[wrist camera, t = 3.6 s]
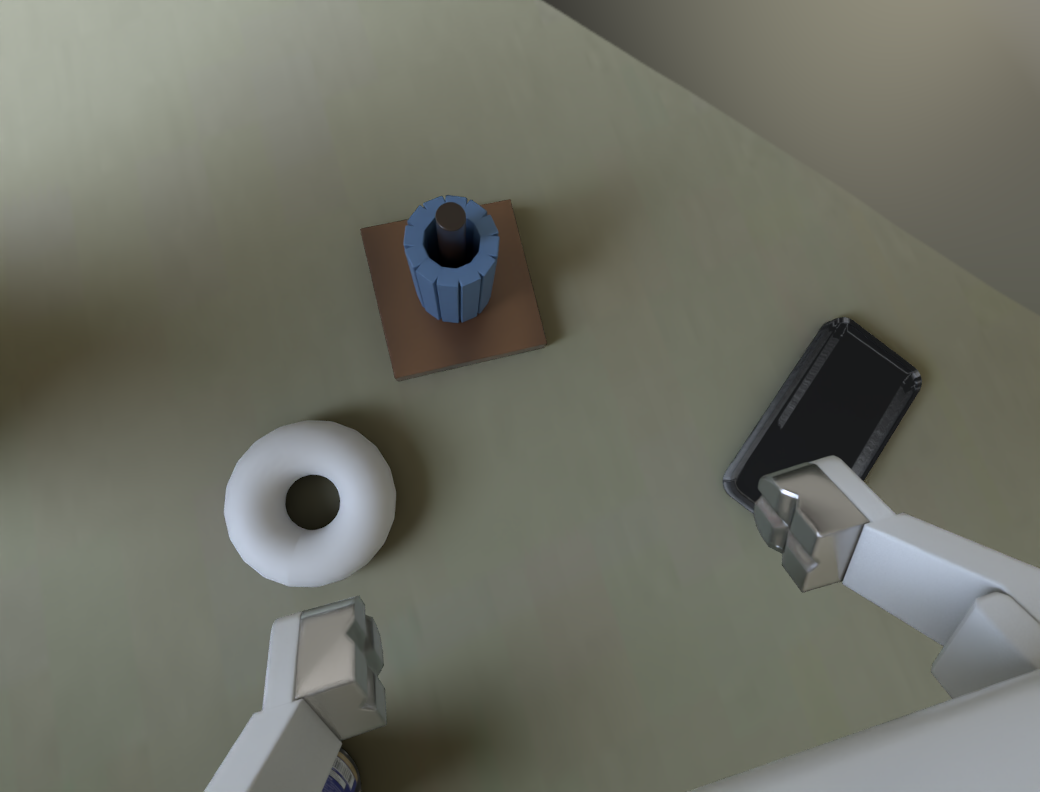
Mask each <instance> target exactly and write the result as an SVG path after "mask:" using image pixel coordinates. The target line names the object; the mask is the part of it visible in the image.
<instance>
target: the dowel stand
mask: <svg viewBox="0 0 1040 792" xmlns="http://www.w3.org/2000/svg"><path fill="white" fill-rule="evenodd" d="M480 206H481V207H482V208H484V209H485V210H487V215H491V217H492V219H493V221H494V223H495V225H496V227H497V229H498V232H499V234H498V236H499V237H500V240H499V251H498V259H497V264H496V270H495V275H494V281H493V286H492V292H491V297H490V298H489V302H488V304H487V305H486V306H485V308H484V309H483V310H482V312H481V313H480V314H479V313H477V317H474V318H472V319H470V320H467V321H465V322H461V320H460V319H459V323H452V322H443V321H442V317H441V319H440V320H438V319H437V318H435V317H434V316H432V315H431V314H429V313H428V312H427V311H426V310H425V308H424V307H423V306H422V304H421V302H420V300H419V298H418V295H417V293H416V289H415V286H414V282H413V279H412V275H411V272H410V268H409V265H408V261H407V258H406V254H405V248H404V235H405V227H406V225H408V223H407V221H408V219H407V220H402V221H397V222H392V223H387V224H382V225H377V226H371V227H366V228H361V229H360V231H361V235H362V239H363V243H364V248H365V252H366V256H367V261H368V265H369V269H370V273H371V278H372V282H373V286H374V291H375V295H376V299H377V303H378V308H379V312H380V316H381V321H382V325H383V329H384V334H385V338H386V342H387V346H388V351H389V355H390V359H391V364H392V368H393V372H394V376H395V379H396V380H397V381H402V380H406V379H410V378H415V377H419V376H423V375H428V374H432V373H436V372H441V371H445V370H449V369H454V368H458V367H462V366H467V365H471V364H475V363H480V362H484V361H488V360H493V359H497V358H501V357H506V356H510V355H515V354H519V353H523V352H528V351H532V350H536V349H541V348H544V347H545V345H546V344H547V341H546V337H545V333H544V329H543V325H542V322H541V318H540V314H539V310H538V306H537V302H536V298H535V294H534V290H533V286H532V282H531V278H530V274H529V270H528V267H527V263H526V259H525V255H524V251H523V247H522V243H521V239H520V235H519V231H518V227H517V223H516V219H515V216H514V212H513V208H512V204H511V200H510V199H509V200H504V201H499V202H494V203H489V204H484V205H480ZM435 219H436V227H437V236H438V245H439V254H440V262H441V266H442V267H448V268H459V267H461V266H464V265H465V261H466V213H465V211H464V209H463V208H462V207H461V206H460V205H459V204H457V203H454V202H447V203H444V204H442V205H441V206H439V208H438V209H437V211H436V214H435Z"/></svg>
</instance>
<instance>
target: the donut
mask: <svg viewBox="0 0 1040 792" xmlns="http://www.w3.org/2000/svg"><path fill="white" fill-rule="evenodd" d="M307 475H321V476H323V477H326V478H328V479H329V480H330V481H332V482H333V483H334V485H335V486H336V488H337V490H338V492H339V496H340V509H339V511H338V514H337V516H336V517H335V518H334V520H333V521H332V522H331V523H330V524H328V525H327V526H325V527H324V528H320V529H317V530H306V529H304V528H301V527H299V526H297V525H296V524H295V523H294V522H292V520H291V519H290V517H289V516H288V514H287V510H286V506H285V502H286V495H287V492H288V490H289V488H290V486H291V485H292V484H293V483H294V482H295V481H296V480H298V479H299V478H301V477H303V476H307ZM395 504H396V489H395V485H394V481H393V477H392V473H391V469H390V467H389V465H388V464H387V462H386V461H385V459H384V458H383V456H382V454H381V453H380V451H379V450H378V448H377V447H376V446H375V445H374V444H373V443H371V442H370V441H369V440H368V439H367V438H365V437H364V436H363V435H362V434H360V433H359V432H358V431H356V430H354V429H351V428H349V427H346V426H343V425H341V424H338V423H336V422H333V421H316V420H305V421H301V422H297V423H293V424H289V425H285V426H281V427H278V428H277V429H275V430H273V431H272V432H270V433H268V434H267V435H265V436H264V437H262V438H260V439H259V440H257V441H255V442H254V444H253V445H252V446H251V447H250V448H249V449H248V450H247V452H246V453H245V454H244V455H243V456H242V457H241V458H240V459H239V461H238V462H237V464H236V466H235V468H234V471H233V473H232V475H231V477H230V480H229V482H228V484H227V487H226V497H225V506H224V516H225V520H226V524H227V529H228V533H229V538H230V540H231V541H232V543H233V545H234V546H235V548H236V549H237V551H238V553H239V554H240V556H241V557H242V559H243V561H245V562H246V563H247V564H248V565H250V566H251V567H252V568H253V569H255V570H256V571H257V572H258V573H259V574H261V575H262V576H263V577H265V578H267V579H270V580H273V581H276V582H279V583H281V584H284V585H287V586H292V587H319V586H322V585H326V584H329V583H333V582H336V581H340V580H343V579H346V578H347V577H349V576H350V575H352V574H353V573H355V572H356V571H358V570H359V569H361V568H362V567H364V566H365V565H367V564H368V563H369V562H370V560H371V559H372V558H373V557H374V555H375V554H376V553H377V552H378V551H379V549H380V548H381V547H382V546H383V544H384V543H385V541H386V538H387V536H388V533H389V531H390V528H391V526H392V523H393V521H394V518H395Z"/></svg>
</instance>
